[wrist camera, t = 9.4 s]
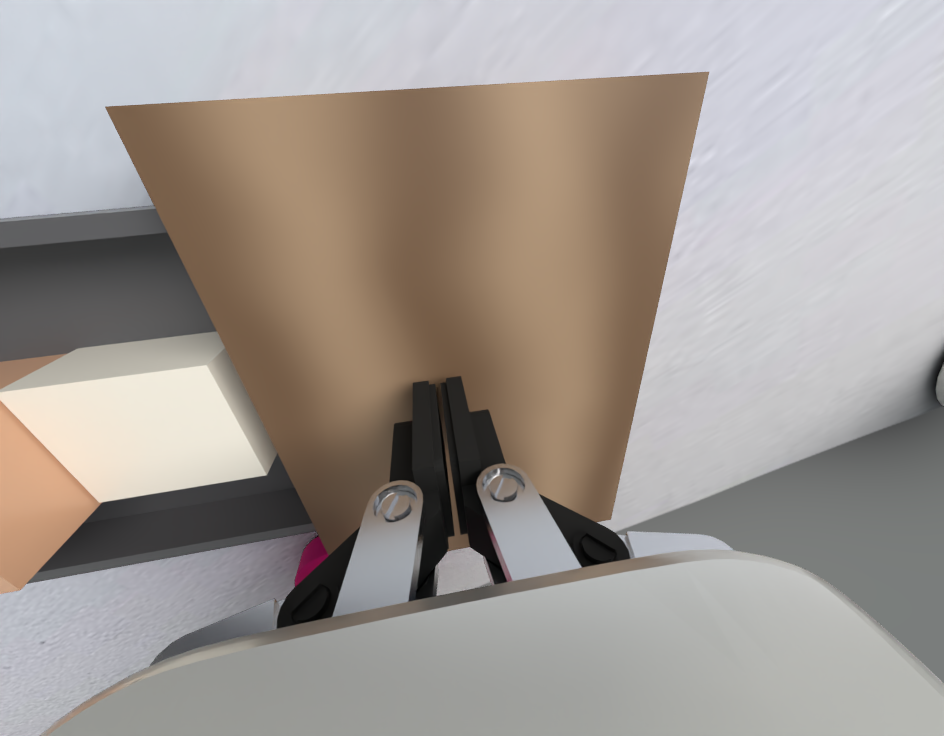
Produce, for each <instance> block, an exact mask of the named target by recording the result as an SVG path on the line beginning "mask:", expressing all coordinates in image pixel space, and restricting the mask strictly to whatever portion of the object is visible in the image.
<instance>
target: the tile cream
mask: <svg viewBox="0 0 944 736" xmlns="http://www.w3.org/2000/svg"><path fill="white" fill-rule="evenodd" d="M0 401H1V402H2V403H3V404H4V405H5V406H6V407H7V408H8V409H9V410H10V411H11V412H12V413H13V414H14V415H15V416H16V417H17V418H18V419H19V420H20V421H21V422H22V423H23V424H24V425H25V426H26V427H27V428H28V430H29V431H30V432H31V433H32V434H33V435H34V436H35V437H36V438H37V439H38V440H39V441H40V442H41V443H42V444H43V445H44V446H45V447H46V448H47V449H48V450H49V451H50V452H51V453H52V454H53V455H54V456H55V457H56V459H57V460H58V461H59V462H60V463H61V464H62V465H63V466H64V467H65V468H66V469H67V470H68V471H69V472H70V473H71V474H72V475H73V476H74V477H75V478H76V479H77V480H78V481H79V482H80V483H81V484H82V485H83V486H84V487H85V489H86V490H87V491H88V492H89V493H90V494H91V495H92V496H93V497H94V498H95V499H96V500H97V501H98V502H99V503H100V502H107V501H113V500H119V499H125V498H131V497H137V496H143V495H149V494H155V493H162V492H168V491H174V490H180V489H186V488H192V487H198V486H204V485H210V484H216V483H223V482H229V481H235V480H241V479H247V478H253V477H259V476H265V475H267V474H268V472H269V470H270V468H271V465H272V463H273V461H274V459H275V457H276V455H277V451H276V449H275V447H274V445H273V443H272V441H271V439H270V437H269V435H268V433H267V431H266V429H265V427H264V425H263V423H262V421H261V419H260V417H259V415H258V413H257V411H256V409H255V407H254V405H253V403H252V401H251V399H250V397H249V395H248V393H247V391H246V389H245V387H244V385H243V383H242V381H241V379H240V377H239V375H238V373H237V371H236V369H235V367H234V365H233V363H232V361H231V359H230V357H229V355H228V353H227V351H226V349H225V347H224V345H223V343H222V340H221V338H220V336H219V334H218V332H217V331H216V332H208V333H200V334H192V335H183V336H175V337H167V338H159V339H151V340H142V341H134V342H126V343H118V344H110V345H101V346H93V347H85V348H78V349H76V350H74V351H72V352H70V353H68V354H66V355H64V356H62V357H61V358H59V359H57V360H55V361H53V362H51V363H49V364H47V365H45V366H44V367H42V368H40V369H38V370H36V371H34V372H32V373H30V374H28V375H27V376H25V377H23V378H21V379H19V380H17V381H15V382H13V383H11V384H10V385H8V386H6V387H4V388H2V389H0Z"/></svg>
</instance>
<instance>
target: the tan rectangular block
mask: <svg viewBox="0 0 944 736" xmlns="http://www.w3.org/2000/svg"><path fill="white" fill-rule="evenodd" d="M64 355H66V354H61V355H52V356H44V357H36V358H28V359H20V360H11V361H3V362H0V389H2V388H4V387H6V386H8V385H10V384H11V383H13V382H15V381H17V380H19V379H21V378H23V377H25V376H27V375H28V374H30V373H32V372H34V371H36V370H38V369H40V368H42V367H44V366H45V365H47V364H49V363H51V362H53V361H55V360H57V359H59V358H61V357H62V356H64ZM101 503H102V502H100V503H99V502H98V501H97V500H96V499H95V498H94V497H93V496H92V495H91V494H90V493H89V492H88V491H87V490H86V489H85V487H84V486H83V485H82V484H81V483H80V482H79V481H78V480H77V479H76V478H75V477H74V476H73V475H72V474H71V473H70V472H69V471H68V470H67V469H66V468H65V467H64V466H63V465H62V464H61V463H60V462H59V461H58V460H57V459H56V457H55V456H54V455H53V454H52V453H51V452H50V451H49V450H48V449H47V448H46V447H45V446H44V445H43V444H42V443H41V442H40V441H39V440H38V439H37V438H36V437H35V436H34V435H33V434H32V433H31V432H30V431H29V430H28V428H27V427H26V426H25V425H24V424H23V423H22V422H21V421H20V420H19V419H18V418H17V417H16V416H15V415H14V414H13V413H12V412H11V411H10V410H9V409H8V408H7V407H6V406H5V405H4V404H3V403H2V402H1V401H0V594H2V593H8V592H13V591H19V590H21V589H22V588H23V587H24V586H25V585H26V583H27V582H28V581H29V580H30V579H31V578H32V577H33V576H34V575H35V574H36V573H37V572H38V571H39V570H40V568H41V567H42V566H43V565H44V564H45V563H46V562H47V561H48V560H49V559H50V558H51V557H52V556H53V555H54V553H55V552H56V551H57V550H58V549H59V548H60V547H61V546H62V545H63V544H64V543H65V542H66V541H67V540H68V538H69V537H70V536H71V535H72V534H73V533H74V532H75V531H76V530H77V529H78V528H79V527H80V526H81V525H82V524H83V522H84V521H85V520H86V519H87V518H88V517H89V516H90V515H91V514H92V513H93V512H94V511H95V510H96V509H97V507H98V506H99V505H100V504H101Z"/></svg>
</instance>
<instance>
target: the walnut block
mask: <svg viewBox="0 0 944 736" xmlns="http://www.w3.org/2000/svg"><path fill="white" fill-rule="evenodd" d="M708 75H709V72H697V73H680V74H663V75H645V76H628V77H611V78H593V79H576V80H559V81H542V82H524V83H507V84H490V85H473V86H455V87H438V88H421V89H404V90H386V91H369V92H352V93H335V94H317V95H300V96H283V97H266V98H248V99H231V100H214V101H197V102H179V103H162V104H145V105H128V106H110V107H105V108H106V110H107V112H108V114H109V116H110V118H111V120H112V122H113V124H114V126H115V128H116V130H117V132H118V134H119V136H120V138H121V140H122V142H123V144H124V146H125V148H126V150H127V152H128V154H129V156H130V158H131V160H132V162H133V164H134V166H135V168H136V170H137V172H138V174H139V176H140V178H141V180H142V182H143V184H144V186H145V188H146V190H147V192H148V194H149V196H150V198H151V200H152V202H153V204H154V206H155V208H156V210H157V212H158V214H159V216H160V218H161V220H162V222H163V224H164V226H165V228H166V230H167V232H168V234H169V236H170V238H171V240H172V242H173V244H174V246H175V248H176V250H177V252H178V254H179V256H180V258H181V260H182V262H183V264H184V266H185V268H186V270H187V272H188V274H189V276H190V278H191V280H192V282H193V284H194V286H195V288H196V290H197V292H198V294H199V296H200V298H201V300H202V302H203V304H204V306H205V308H206V310H207V312H208V314H209V316H210V318H211V320H212V322H213V324H214V326H215V328H216V330H217V332H218V334H219V336H220V338H221V340H222V343H223V345H224V347H225V349H226V351H227V353H228V355H229V357H230V359H231V361H232V363H233V365H234V367H235V369H236V371H237V373H238V375H239V377H240V379H241V381H242V383H243V385H244V387H245V389H246V391H247V393H248V395H249V397H250V399H251V401H252V403H253V405H254V407H255V409H256V411H257V413H258V415H259V417H260V419H261V421H262V423H263V425H264V427H265V429H266V431H267V433H268V435H269V437H270V439H271V441H272V443H273V445H274V447H275V449H276V451H277V453H278V455H279V457H280V459H281V461H282V463H283V465H284V467H285V469H286V471H287V473H288V475H289V477H290V479H291V481H292V483H293V485H294V487H295V489H296V491H297V493H298V495H299V497H300V499H301V501H302V503H303V505H304V507H305V509H306V511H307V513H308V515H309V517H310V519H311V521H312V523H313V525H314V527H315V529H316V531H317V533H318V535H319V537H320V539H321V541H322V543H323V545H324V547H325V549H326V551H327V553H328V555H330V554H331V553H332V552H333V551H334V550H335V549H336V548H338V547H339V546H340V545H341V544H342V543H343V542H344V541H345V540H346V539H347V538H348V537H349V536H350V535H351V534H353V533H354V532H355V531H356V530H357V529H358V528H359V527H360V526H361V523H362V520H363V517H364V513H365V510H366V507H367V504H368V502H369V500H370V498H371V496H372V495H373V494H374V493H375V492H376V490H378V489H379V488H380V487H382V486H383V485H385V484H388V483H389V479H390V467H391V454H392V441H393V429H394V424H395V423H400V422H406V421H412V414H413V383H414V382H421V381H429V385H430V384H435V386H436V392H437V399H438V405H439V412H440V418H441V425H442V432H443V438H444V445H445V453H446V462H447V471H448V480H449V489H450V497H451V506H452V515H453V524H454V533H455V536H452V537H448V542H449V549H448V551H451V550H456V549H461V548H467V547H470V545H469V540H468V534H463V535H460V528H459V521H458V514H457V507H456V500H455V493H454V487H453V480H452V473H451V466H450V458H449V450H448V442H447V434H446V426H445V418H444V410H443V402H442V394H441V386H440V383H444V382H446V378H450V377H457V376H461V378H462V382H463V387H464V391H465V395H466V400H467V404H468V408H469V412H473V411H480V410H486V409H488V410H489V412H490V415H491V418H492V421H493V425H494V428H495V431H496V434H497V437H498V440H499V443H500V447H501V450H502V453H503V456H504V459H505V462H506V464H511V465H514V466H517V467H519V468H520V469H522V470H523V471H524V472H525V473H526V474H527V475H528V477H529V478H530V480H531V482H532V483H533V485H534V487H535V488H536V490H537V492H538V493H539V494H541V495H543V496H545V497H547V498H549V499H551V500H553V501H555V502H557V503H559V504H561V505H563V506H565V507H567V508H569V509H571V510H573V511H575V512H576V513H578V514H580V515H582V516H584V517H586V518H588V519H590V520H592V521H594V522H600V521H605V520H610V519H611V516H612V512H613V507H614V502H615V498H616V493H617V489H618V484H619V480H620V475H621V471H622V466H623V462H624V457H625V452H626V448H627V443H628V439H629V434H630V430H631V425H632V421H633V416H634V412H635V407H636V402H637V398H638V393H639V389H640V384H641V380H642V375H643V371H644V366H645V362H646V357H647V352H648V348H649V343H650V339H651V334H652V330H653V325H654V321H655V316H656V312H657V307H658V302H659V298H660V293H661V289H662V284H663V280H664V275H665V271H666V266H667V262H668V257H669V252H670V248H671V243H672V239H673V234H674V230H675V225H676V221H677V216H678V212H679V207H680V202H681V198H682V193H683V189H684V184H685V180H686V175H687V171H688V166H689V162H690V157H691V152H692V148H693V143H694V139H695V134H696V130H697V125H698V121H699V116H700V112H701V107H702V102H703V98H704V93H705V89H706V84H707V80H708Z"/></svg>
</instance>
